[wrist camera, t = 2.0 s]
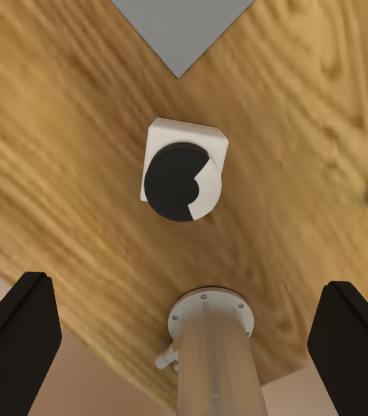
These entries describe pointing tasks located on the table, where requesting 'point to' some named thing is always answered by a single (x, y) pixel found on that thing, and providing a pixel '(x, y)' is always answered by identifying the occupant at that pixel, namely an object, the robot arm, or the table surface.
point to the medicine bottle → (183, 169)
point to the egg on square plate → (181, 26)
